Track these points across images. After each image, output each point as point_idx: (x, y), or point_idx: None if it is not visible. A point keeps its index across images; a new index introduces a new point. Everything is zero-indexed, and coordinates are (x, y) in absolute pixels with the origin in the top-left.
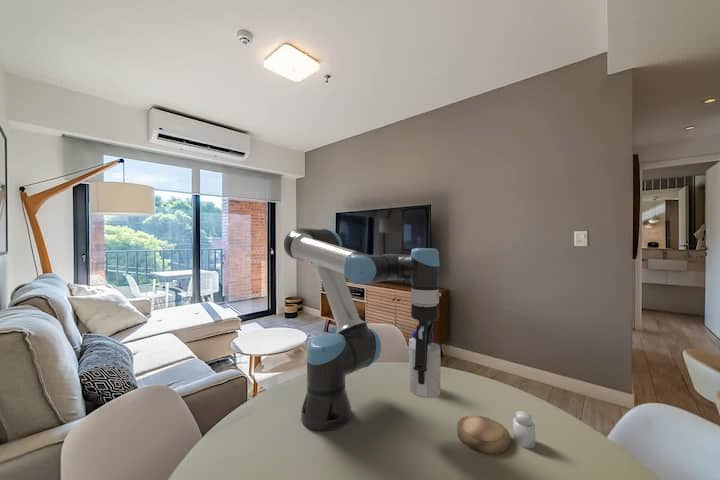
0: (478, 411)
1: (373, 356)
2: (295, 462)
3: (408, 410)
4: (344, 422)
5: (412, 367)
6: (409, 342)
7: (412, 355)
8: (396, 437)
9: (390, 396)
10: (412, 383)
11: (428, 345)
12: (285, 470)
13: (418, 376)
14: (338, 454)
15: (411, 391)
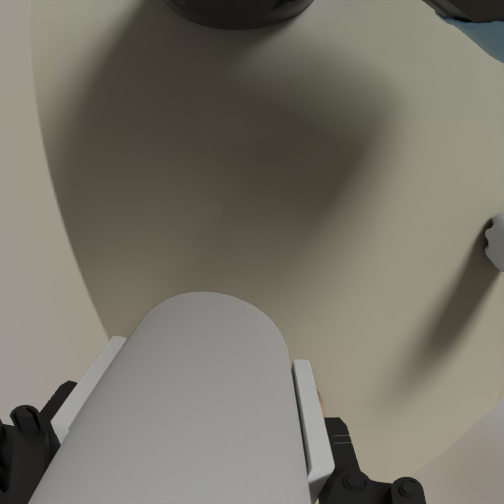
0: (374, 406)
1: (468, 15)
2: (54, 9)
3: (354, 217)
4: (202, 21)
5: (95, 397)
6: None
7: (49, 471)
8: (186, 197)
9: (426, 143)
10: (134, 334)
11: None
12: (36, 10)
13: (46, 406)
14: (83, 68)
15: (159, 304)
